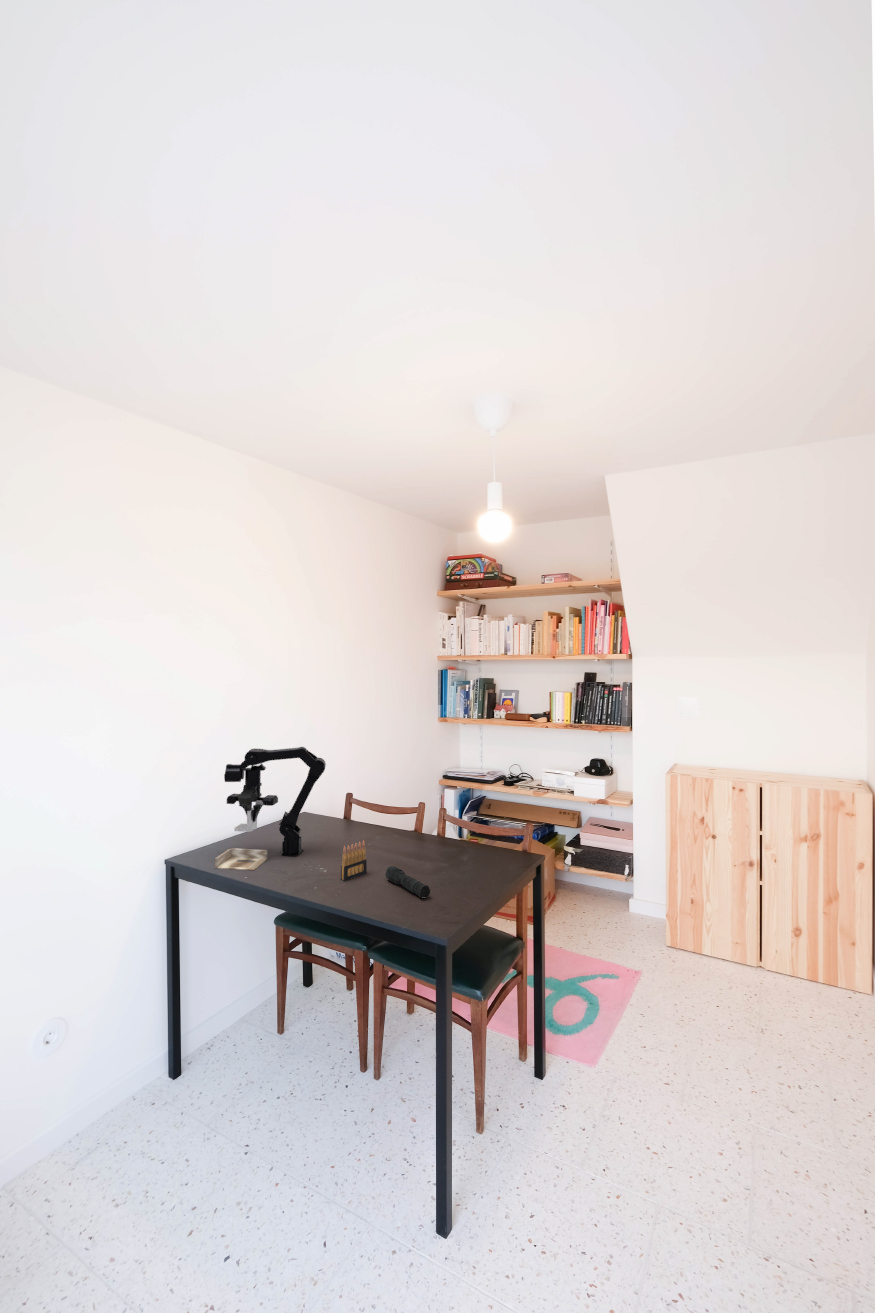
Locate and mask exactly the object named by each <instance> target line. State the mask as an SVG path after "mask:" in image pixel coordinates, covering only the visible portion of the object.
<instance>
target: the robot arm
mask: <svg viewBox="0 0 875 1313" xmlns="http://www.w3.org/2000/svg"><path fill="white" fill-rule="evenodd" d="M288 759H289V760H290V759H300V760H301V761H302V762H303V763H304V764H305V765H306V766H307V767H309V770H308V773H307V777H306V779H305V781H304V784H303V785H302V788H301V789H300V791H299V794H298V795H297V796H296V799H295V801H294V803H293V805H292V807H291V809H290V810H289V811H284V814H283V816H282V818H281V819H280V821H279V824H278V826H279V829H278V830H279V833H280V834H281V835H282V836H283V841H282V844H281V845H282V847H281V851H282V853H281V855H282V856H288V857H289V856H293V857H298V856H299V855H300V854H301V853H302V852H303V851H304V850H303V849H302V836H300V834H301V832H302V829H301V827H299V826H298V825H297V823H298V819H299V816H300V814H301V812H302V809H303V808H304V805H305V803H306V801H307V800H308V797H309V796H310V793H311V791H312V790H313V787H314V785H315V784H316V783H317V781H318V779H319V778H320V777H321V776H322V775H323V773H324V772H325V769H326V766H327V764H326V761H325V759H324V758H322V757H318V756H317V755H315V754H314V753H312V752H311V751H309V750H308V749H307V748H306V747H305V746H299V747H292V748H291V747H290V748H280V749H264V748H251V749H249V750H248V751H247V752H246V753H245V755H244V760H243V761H242V762H241V763H240V764H231V763H228V764H226V765H225V772H224V774H223V776H224V779H223V780H224V782H225V783H241V782H242V780H245V781H244V784H243V789H242V791H241V792H240V793H231V794H230V795H228V796H227V798H226V804H228V805H235V803H236V802H238V806H239V807H241V808H242V809H243V811H244V813H245V815H246V816H247V811H248V810H250V809H251V808H254V815H253V822H255V821H256V819H257V820H258V815H259V814H260V811H261V809H262V808H263V806H267V807H268V806H274V805H275V804H277V803H278V802H279V797H278V795H277V794H274V795H272V794H268V795H266V796H264V797H262V793H261V786H262V782H261V771H266V769H267V767H266V766H265V765H263V763H267V762H270V761H280V760H281V761H282V760H288ZM244 778H245V779H244ZM253 803H255V804H254V805H253Z"/></svg>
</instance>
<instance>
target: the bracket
mask: <svg viewBox="0 0 875 1313" xmlns="http://www.w3.org/2000/svg"><path fill="white" fill-rule="evenodd" d="M253 815H254V808H253V807H252V808H251V809H250V810H248V811H247V815H246V823H240V824H239V825H237V826H235V827H234V832H245V833H246V832H247V833H251V832H253V831H254V830H256V829H257V828H258V818H257V819H256V821H255V822H253Z"/></svg>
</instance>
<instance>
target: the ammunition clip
mask: <svg viewBox="0 0 875 1313" xmlns="http://www.w3.org/2000/svg"><path fill="white" fill-rule="evenodd" d="M366 854H367V850H366V842H365V840H364V839H363V840H362V842H361V841H359V842H358V843H357V842H355V844H354V843H352V844H351V845H350V844H348V845H347V847H346V845H343V850H342V858H341V859H342V860H341V865H340V881H342V882H346V880H347V881H350V880H352V879H355V878H358V877H361V876H362V875H363V876H364V875H366V874H367V872H368V871H367V867H368V866H367V865H368V864H367V861H368V860H367V858H366V856H367V855H366ZM360 875H361V876H360ZM357 876H358V877H357ZM354 877H355V878H354ZM351 878H352V879H351Z"/></svg>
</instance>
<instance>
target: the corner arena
mask: <svg viewBox="0 0 875 1313" xmlns="http://www.w3.org/2000/svg"><path fill="white" fill-rule="evenodd" d="M267 860H268V849H251V848H239V847H237V848H234V847H230V848H227V850H225V851H223V852H222V853H221V854H219V855H217V856H216V857H215V858H214V869H218V870H219V869H221V870H238V871H255V870H257V869H258V868H259V867H260V866H262V864H264V863H265V862H266V861H267Z"/></svg>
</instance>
